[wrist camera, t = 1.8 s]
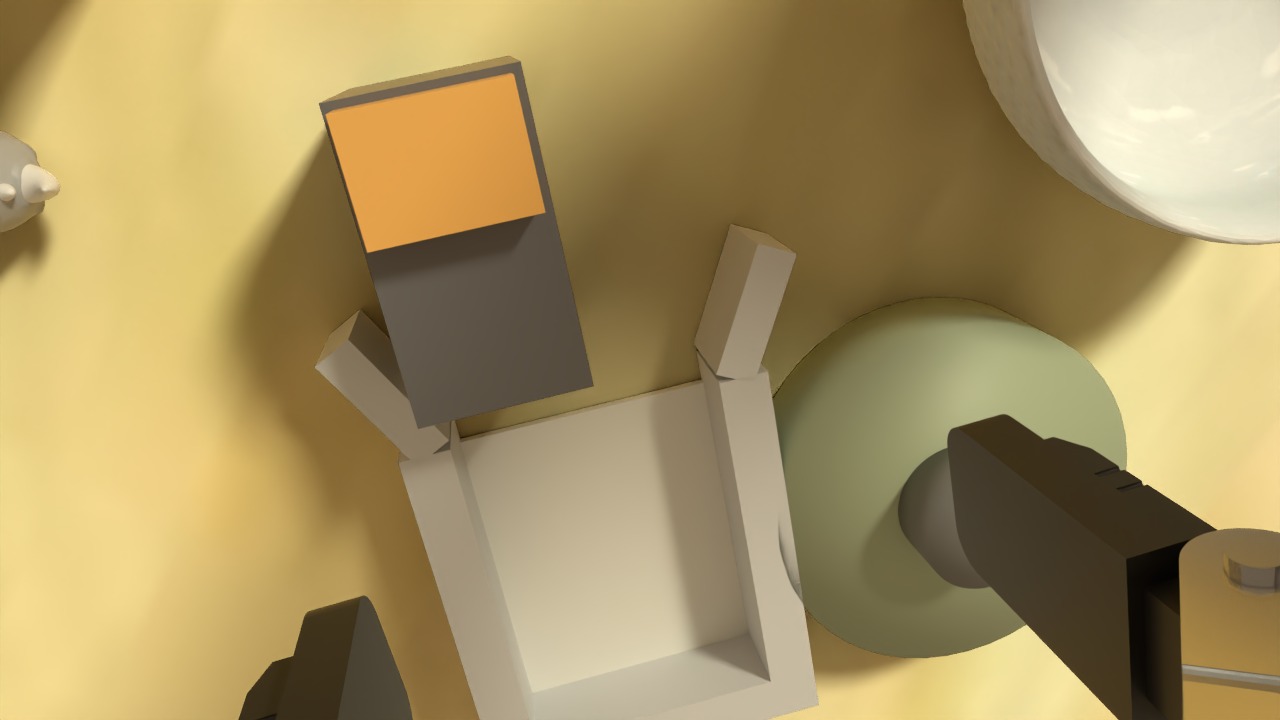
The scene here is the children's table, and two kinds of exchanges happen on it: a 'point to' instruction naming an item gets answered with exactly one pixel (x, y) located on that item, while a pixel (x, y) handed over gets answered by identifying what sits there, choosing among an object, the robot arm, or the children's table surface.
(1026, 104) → the cereal bowl
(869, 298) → the children's table surface
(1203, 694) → the robot arm
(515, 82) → the orange-panel grey block
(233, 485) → the children's table surface
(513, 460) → the grey bracket and lid
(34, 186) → the toy rhinoceros
